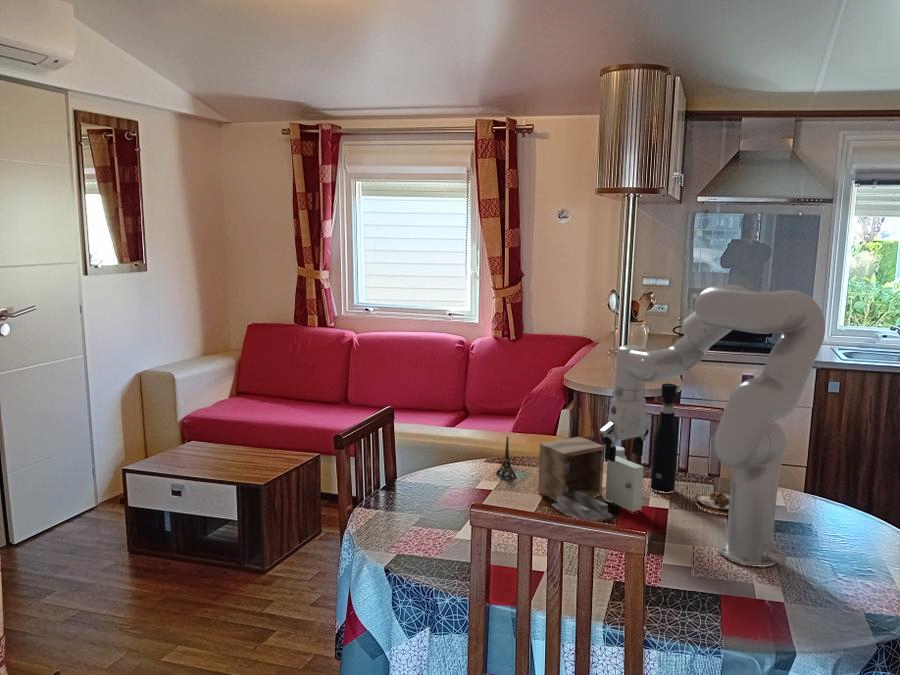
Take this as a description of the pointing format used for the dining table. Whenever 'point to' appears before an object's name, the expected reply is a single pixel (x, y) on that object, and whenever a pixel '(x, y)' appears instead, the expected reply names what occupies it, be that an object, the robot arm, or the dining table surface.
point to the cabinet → (573, 477)
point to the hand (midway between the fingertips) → (623, 457)
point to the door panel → (624, 483)
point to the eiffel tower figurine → (509, 469)
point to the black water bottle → (665, 444)
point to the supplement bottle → (620, 452)
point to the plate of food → (714, 502)
